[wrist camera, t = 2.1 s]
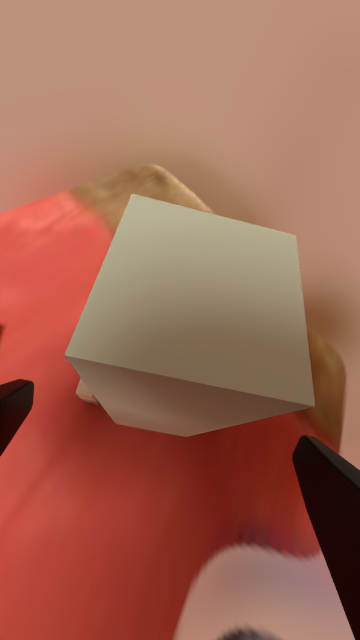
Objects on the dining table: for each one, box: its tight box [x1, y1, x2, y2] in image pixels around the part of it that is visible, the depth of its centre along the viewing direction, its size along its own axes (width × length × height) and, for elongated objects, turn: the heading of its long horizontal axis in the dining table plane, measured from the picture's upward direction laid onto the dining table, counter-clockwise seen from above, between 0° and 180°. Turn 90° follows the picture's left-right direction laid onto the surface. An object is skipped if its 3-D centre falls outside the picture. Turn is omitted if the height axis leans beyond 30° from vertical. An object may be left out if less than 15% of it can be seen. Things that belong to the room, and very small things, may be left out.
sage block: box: [64, 194, 315, 437], centre depth 12 cm, size 5×5×14 cm
